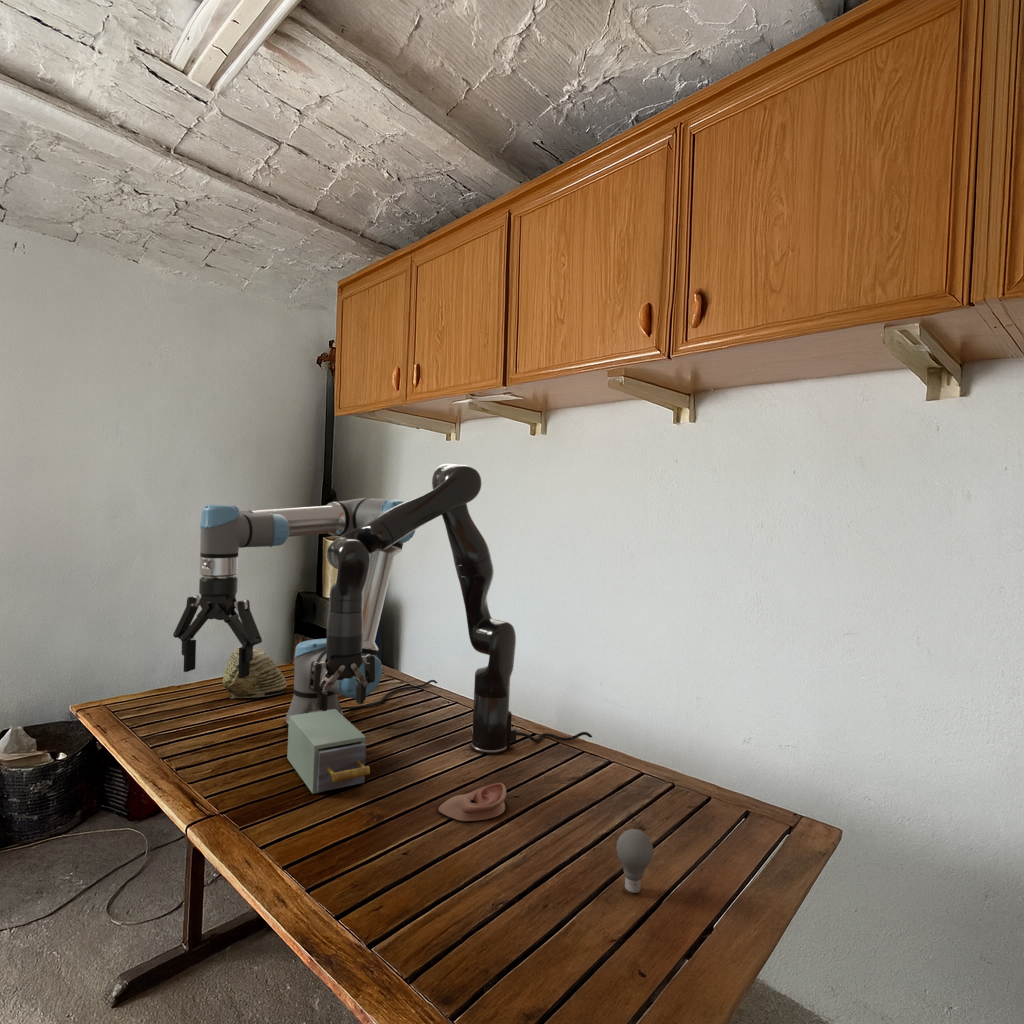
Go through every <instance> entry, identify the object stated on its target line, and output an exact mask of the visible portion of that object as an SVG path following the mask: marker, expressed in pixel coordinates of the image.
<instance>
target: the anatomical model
mask: <svg viewBox="0 0 1024 1024" xmlns="http://www.w3.org/2000/svg"><path fill="white" fill-rule="evenodd" d="M506 797H507V788H506V785H505V784H504V783H502V782H496V783H491V784H488V785H484V786H482V787H480V788H477V789H475V790H473V791H470V792H467V793H464V794H458V795H454V796H452V797H450V798H449V799H446V800H445V801H444V802H443V803H441V805H439V807H438V812H439V813H440V814H442V815H444V816H445V817H448V818H450V819H453V820H457V821H460V822H474V821H476V822H477V821H484V820H489V819H492V818H496V817H498V816H500V815H502V814H503V813H504V812H505V810H506V804H505V803H506V802H505V799H506Z"/></svg>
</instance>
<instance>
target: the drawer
mask: <svg viewBox="0 0 1024 1024" xmlns="http://www.w3.org/2000/svg"><path fill="white" fill-rule="evenodd" d="M366 753H367V744H366V742H365V743H361V744H358V742H356V743H350V744H345V745H339V746H334V747H328V748H323V749H318V773H317V791H318V793H317V794H319V793H323V792H328V791H333V790H336V789H342V788H346V787H350V786H354V785H360V784H364V783H365V782H366V781H365V780H366V776H369V775H371V769H370V768H371V767H370V766H369V765H366V757H367V755H366Z"/></svg>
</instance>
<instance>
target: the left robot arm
mask: <svg viewBox="0 0 1024 1024" xmlns="http://www.w3.org/2000/svg"><path fill="white" fill-rule="evenodd" d="M405 502H406V501H404V500H401V499H395V498H372V497H361V498H355V499H348V500H340V501H331V502H330V501H329V502H328V503H327V504H326V505H320V506H319V505H318V506H302V507H301V506H300V507H284V508H282V507H281V508H266V509H265V508H264V509H249V510H240V507H239V506H237V505H233V504H207V505H204V506H203V507H202V509H201V515H200V524H199V528H200V545H199V547H200V550H199V552H200V553H199V575H200V576H201V577H200V578H199V581H198V582H199V583H198V584H199V585H198V594H199V595H198V594H197V595H191V596H188V597H187V599H186V604H185V605H186V606H185V608H184V610H183V613H182V614H181V617H180V619H179V621H178V623H177V625H176V627H175V630H174V632H173V634H172V635H173V636H172V637H174V638H176V639H179V640H180V641H181V655H182V656H183V673H188V672H190V671H193V670H196V662H197V661H196V660H197V657H196V656H197V639H195V636H196V635H197V633H198V632H199V631H200V630H201V628H202V627H203V626H204V625H205V624H206V623H207V621H208V620H216V621H223V622H224V623H225V624H227V625H228V626H229V628H230V629H231V631H232V632H233V634H234V636H235V637H236V638H237V640H238V642H239V643H240V644H241V646H239V647H240V648H239V671H238V678H244V677H246V676H248V675H249V671H250V661H252V659H253V649H254V646H256V645H259V644H261V643H262V642H263V638H262V636H261V634H260V631H259V630H258V629H259V628H258V626H257V624H256V621H255V618H254V616H253V614H252V611H251V606H250V605H251V604H250V599H244V600H237V598H236V596H237V593H238V579H239V578H238V577H237V576H236V575H238V574H239V549H243V548H263V547H265V548H266V547H269V548H272V547H277V546H282V545H284V544H285V543H286V542H287V540H288V538H289V537H290V538H291V537H300V536H311V535H312V536H313V535H321V534H328V535H330V536H332V537H340V536H342V535H344V534H346V533H348V532H350V531H352V530H355V529H357V528H359V527H362V526H364V525H366V524H368V523H369V522H371V521H372V520H373V519H375V518H377V517H378V516H380V515H381V514H383V513H384V512H386V511H388V510H389V509H391V508H393V507H395V506H397V505H400V504H402V503H405ZM415 533H416V530H414V531H412V532H411V533H409V534H408V535H406V536H405V537H404V538H402V539H401V540H399V541H398V542H396V543H395V544H393V545H392V546H390V547H388V548H387V549H384V550H381V551H375V552H372V553H371V554H370V566H369V571H368V575H367V579H366V583H365V586H364V590H363V610H362V611H363V642H362V652H361V656H365V654H370V655H372V656H374V657H375V681H374V682H373V683H372V682H371V683H369V684H367V686H366V697H368V696H369V695H371V693H373V692H374V691H375V690H376V688H377V687H378V686H379V685H380V682H381V680H382V677H383V673H384V672H383V669H384V668H383V667H384V666H383V664H382V661H381V660H380V659H379V657H378V653H379V647H378V645H377V644H376V642H375V641H376V637H377V632H378V628H379V625H380V621H381V616H382V612H383V608H384V605H385V604H384V603H385V599H386V595H387V591H388V587H389V582H390V578H391V574H392V569H393V565H394V561H395V557H396V555H398V554H400V553H401V552H402V551H403V547H404V544H405V543H407V542H409V541H410V540H411V539H412V538H413V537H414V536H415ZM199 607H200V608H201V610H200V611H199V612H198V609H199ZM197 612H198V613H197ZM196 613H197V614H196ZM195 615H196V617H195ZM326 639H327V638H317V639H316V638H315V639H308V640H304V641H300V642H299V643H298V644H297V645H296V646H295V650H294V651H295V652H294V655H293V658H294V670H293V671H294V672H293V695H292V696H293V697H292V699H291V702H290V704H289V708H288V711H287V713H286V715H285V726H286V728H288V727H289V716H291V715H298V714H305V713H311V712H318V711H321V710H320V708H318V706H317V697H318V693H317V692H314V691H312V690H310V689H309V680H310V670H311V663H312V662H313V661H316V662H325V660H326ZM359 670H360V672H361V673H362V674H363V676H364V677H365V665H364V664H363V662H362V664H361V666H360V667H359ZM326 671H327V670H326V668H324V669H323V672H322V673H321V678H320V682H321V681H322V677H323V676H324V674H325V673H326ZM330 678H331V676H330ZM330 678H329V679H330ZM431 683H434V684H438V681H436V680H435V679H430V680H428V681H426V682H424V683H423V684H419V685H411V686H403V687H399V688H395V689H393V690H391V691H389V692H387V693H386V694H384V695H383V696H382V697H381V699H380V700H378V701H376V702H372V703H367V704H360V705H353V706H341V702H340V699H339V695H340V696H341V697H343V698H349V699H354V700H356V685H358V683H357V682H356V680H355V679H354V678H353V677H352V678H351V679H346V678H345V679H343V680H336V682H335V683H334V684H333V685H332V686H331V687H330V688H329V690H328V691H327V694H328V701H327V710H331V709H336V710H337V711H338V712H339V713H340V714H341V715H343V716H344V714H343V710H356V709H364V708H369V707H374V706H377V705H379V704H381V703H383V702H384V700H385V699H386V698H387V697H388V696H390V695H391V694H394V693H397V692H399V691H404V690H411V689H418V688H423V687H425V686H427V685H429V684H431Z"/></svg>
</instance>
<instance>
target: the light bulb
mask: <svg viewBox="0 0 1024 1024" xmlns="http://www.w3.org/2000/svg"><path fill="white" fill-rule="evenodd" d="M615 849H616V854H617V857H618V859H619V861H620V863H621V865H622V867H623V873H624V874H623V875H624V876H625V878H624V888H625V890H627V891H628V892H630V893H634V894H635V893H639V892H640V891H641V889H642V887H641V886H642V879H643V877H644V875H645V871H646V868H647V867H648V866H649V864H650V863H651V861H652V859H653V855H654V847H653V843H652V841H651V838H649V836H648V835H647V834H646V833H645V832H643V831H642V830H641V829H636V828H629V829H627V830H625V831H623V832H622V833H621V834H620V835H619V837H618V839H617V841H616V847H615Z"/></svg>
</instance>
